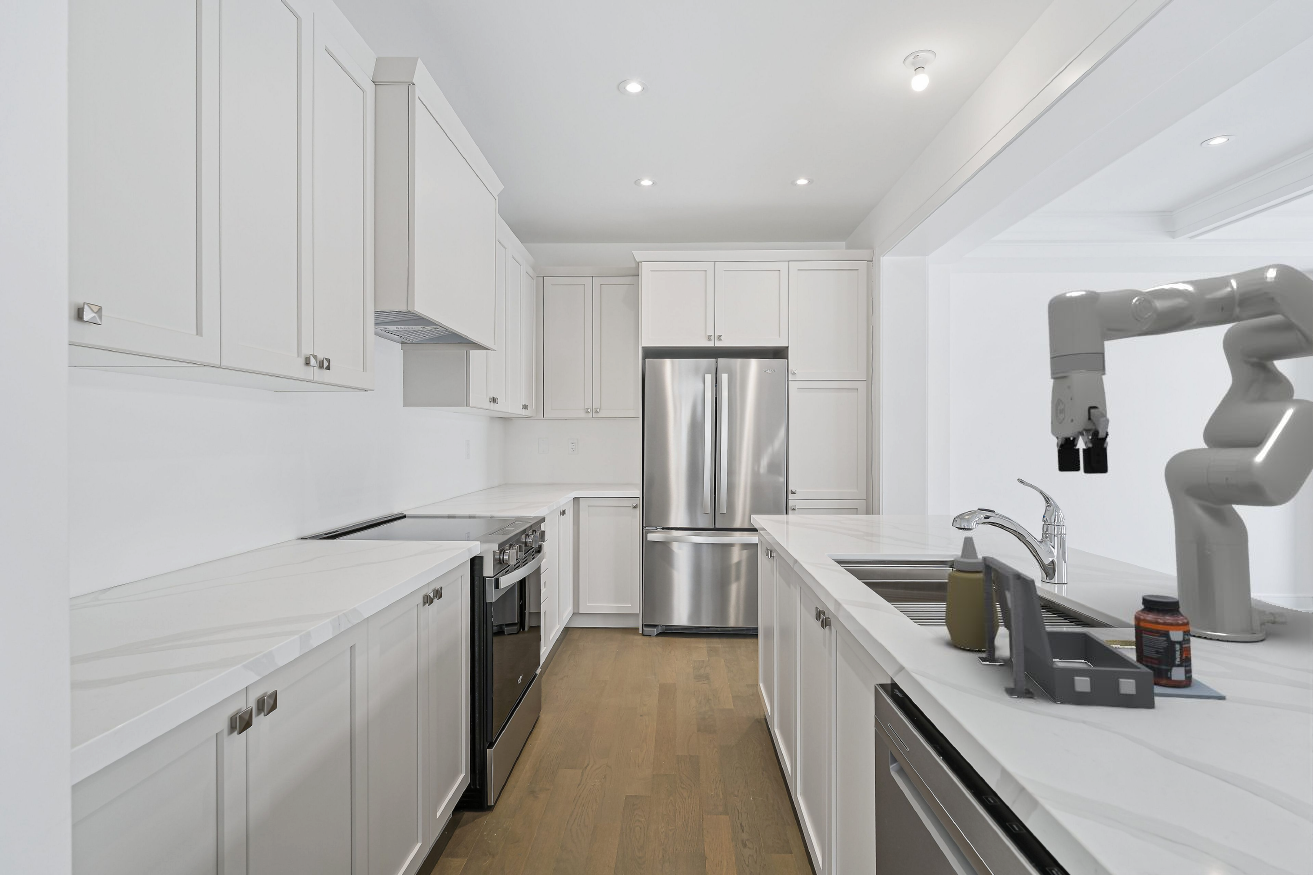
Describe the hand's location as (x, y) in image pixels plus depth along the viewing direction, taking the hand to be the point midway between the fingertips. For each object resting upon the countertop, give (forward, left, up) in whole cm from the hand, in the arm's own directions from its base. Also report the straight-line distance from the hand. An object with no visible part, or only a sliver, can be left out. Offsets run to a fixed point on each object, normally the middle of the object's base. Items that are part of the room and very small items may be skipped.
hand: (1081, 472), depth 103 cm
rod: (-1, 0, -28) cm, 29 cm away
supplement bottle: (-3, +16, -28) cm, 32 cm away
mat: (-2, +17, -28) cm, 33 cm away
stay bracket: (+17, +17, -28) cm, 37 cm away
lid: (+15, +16, -18) cm, 29 cm away
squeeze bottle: (+18, +2, -28) cm, 34 cm away
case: (+9, +17, -28) cm, 34 cm away
